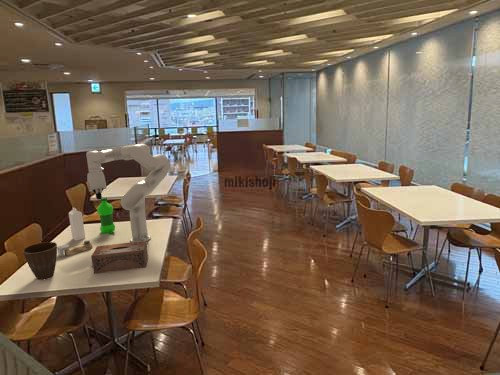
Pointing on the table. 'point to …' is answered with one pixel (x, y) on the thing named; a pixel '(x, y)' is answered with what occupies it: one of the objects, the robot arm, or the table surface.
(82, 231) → the milk
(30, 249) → the plant pot
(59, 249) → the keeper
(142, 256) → the tissue box cover
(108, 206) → the plastic bottle
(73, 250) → the link
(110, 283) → the table surface
